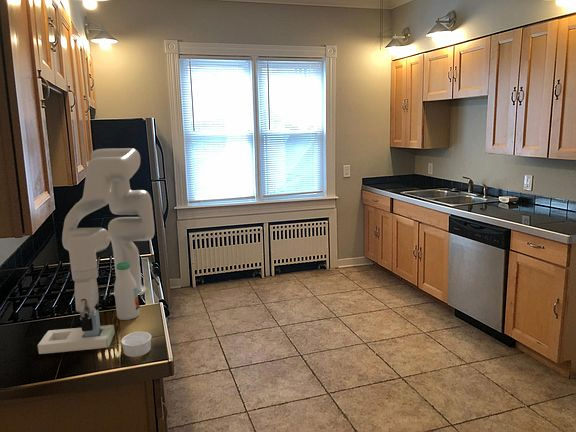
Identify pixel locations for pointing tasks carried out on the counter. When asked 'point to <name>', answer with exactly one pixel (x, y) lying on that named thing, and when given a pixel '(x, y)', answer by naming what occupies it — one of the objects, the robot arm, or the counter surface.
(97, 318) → the plug
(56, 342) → the socket panel
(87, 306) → the robot arm
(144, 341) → the ramekin
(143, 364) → the counter surface
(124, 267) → the milk bottle
